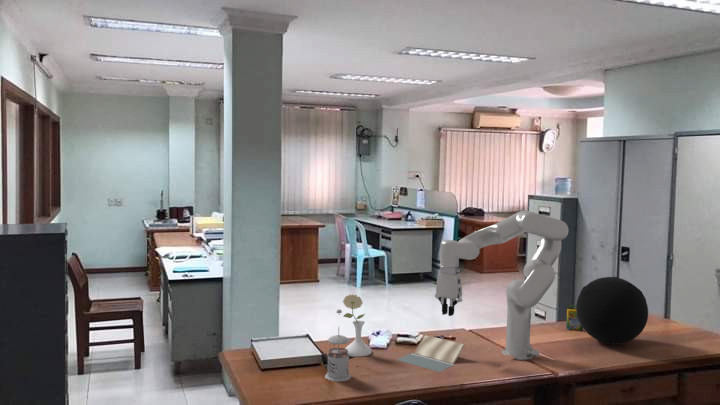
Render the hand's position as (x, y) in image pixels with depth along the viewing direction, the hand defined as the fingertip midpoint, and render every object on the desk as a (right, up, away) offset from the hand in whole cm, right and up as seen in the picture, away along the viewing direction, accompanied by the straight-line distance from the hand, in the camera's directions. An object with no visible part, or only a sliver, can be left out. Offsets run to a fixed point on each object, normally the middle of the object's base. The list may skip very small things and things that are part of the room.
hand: (447, 314), depth 237 cm
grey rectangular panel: (-11, -18, -12) cm, 24 cm away
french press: (-45, -18, -25) cm, 54 cm away
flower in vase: (-38, -17, -1) cm, 41 cm away
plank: (-4, -14, -4) cm, 15 cm away
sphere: (+76, -18, +22) cm, 81 cm away
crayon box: (+69, -16, +44) cm, 83 cm away
